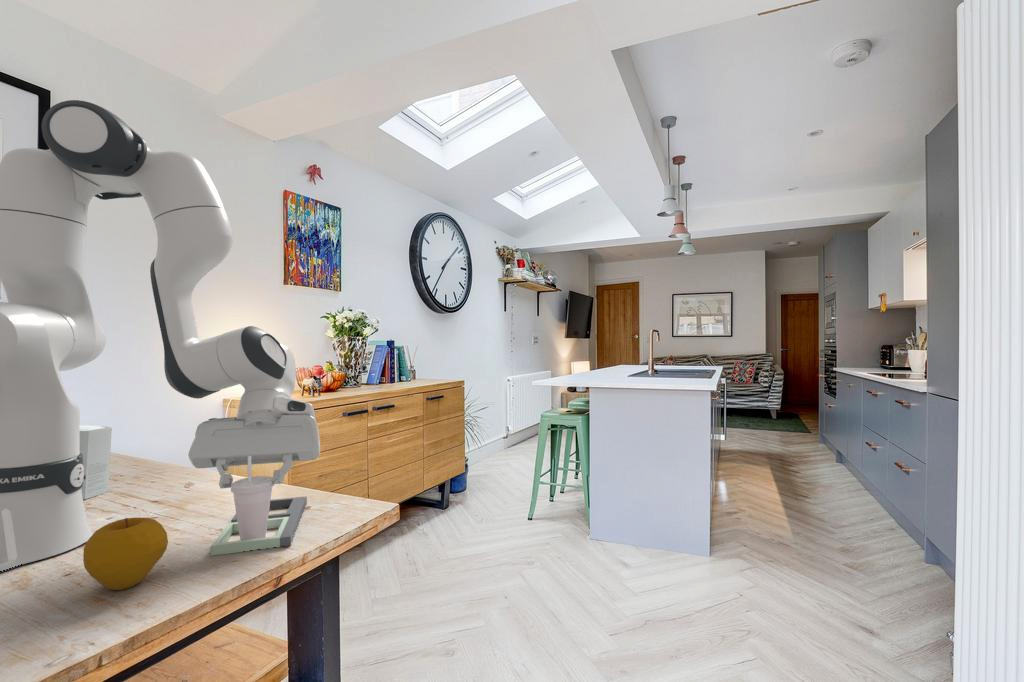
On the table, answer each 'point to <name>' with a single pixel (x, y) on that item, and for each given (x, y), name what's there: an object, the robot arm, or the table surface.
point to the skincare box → (95, 459)
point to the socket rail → (282, 521)
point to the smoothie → (252, 504)
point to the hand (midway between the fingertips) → (251, 484)
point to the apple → (124, 551)
